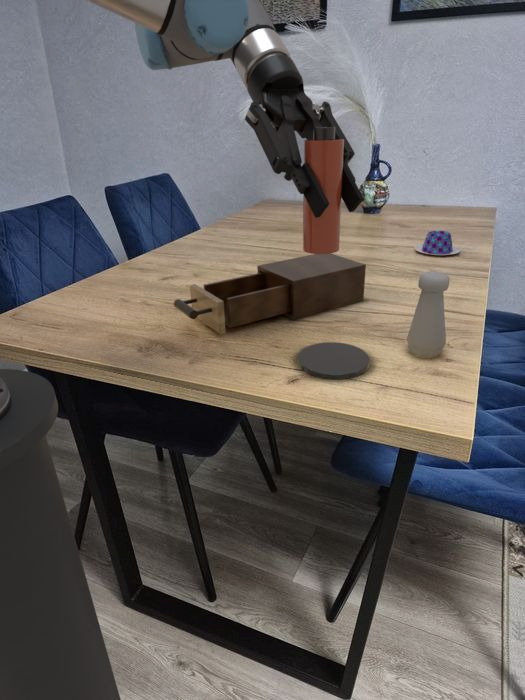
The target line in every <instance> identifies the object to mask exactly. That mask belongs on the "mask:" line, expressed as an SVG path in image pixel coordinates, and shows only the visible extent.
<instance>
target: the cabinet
mask: <svg viewBox="0 0 525 700" xmlns="http://www.w3.org/2000/svg"><path fill="white" fill-rule="evenodd" d="M256 268H257V273H261V272H264V273H267V274H269V275H271V276H274V277H276V278H278V279H280V280H283V281H285V282H287V283H289V284H291V312H288V313H284V314H283V316H286V317H287V318H289V319H290V320H293V321H295V320H299V319H302V318H305V317H310V316H313V315H317V314H320V313H324V312H327V311H331V310H335V309H338V308H343V307H345V306H349V305H352V304H356V303H360V302H364V297H365V284H366V283H365V282H366V270H367V264H365V263H363V262H359V261H357V260H353V259H351V258H350V259H349V258H347V257H343V256H340V255H337V254H335V253H331V254H309V255H303V256H298V257H294V258H289V259H284V260H279V261H274V262H269V263H264V264H258V265H257V267H256Z"/></svg>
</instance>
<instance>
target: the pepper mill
mask: <svg viewBox="0 0 525 700" xmlns="http://www.w3.org/2000/svg"><path fill="white" fill-rule="evenodd" d="M343 152H344V139H335V127H314V128H313V139H311V140H307V139H304V140H303V164H304V163H309V165H310V167H311V169H312V171H313V173H314V175H315V177H316V179H317V181H318V182H319V184H320V186H321V188H322V190H323V192H324V194H325V196H326V198H327V200H328V201H329V203H330V204H329V205H328V207H327V208H326V209H325V211H324V212H323V213H322V215H321V216H320V217H317V218H315V216H314V214H313V212H312V210H311V208H310V206H309V204H308V202H307V200H306V198H305V196H304V194H302V195H303V199H302V201H303V203H302V210H303V211H302V251H303V252H304V253H308V254H310V255H313V254H335V253H337V252H339V251H340V237H341V219H342V218H341V215H342V197H341V196H342V174H343Z"/></svg>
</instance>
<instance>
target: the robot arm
mask: <svg viewBox="0 0 525 700" xmlns="http://www.w3.org/2000/svg"><path fill="white" fill-rule="evenodd" d="M85 1H86V2H89V3H91V4H92V5H95V6H97V7H99V8H102V9H103V10H106V11H108V12H109V13H112V14H115V15H117V16H118V17H121V18H123V19H125V20H128V21H129V22H132V23H134V30H135V37H136V41H137V45H138V49H139V53H140V55H141V57H142V60H143V63H144V64H145V65H146V66H147V68H148V69H150V70H152V71H159V70H173V69H174V68H175V69H176V68H181V67H186V66H194V65H198V64H204V63H208V62H213V61H214V62H218V61H222V60H227V59H230V60H231V63H232V64H233V66H234V68H235V69H236V71H237V73H238V75H239V77H240V79H241V81H242V83H243V85H244V87H245V88H246V90H247V93H248V95H249V97H250V99H251V101H252V102H250V104H249V107H248V110H247V112H246V115H245V117H244V120H245V122H246V123H247V124H248V125H249V127H250V128H251V129H252V130H253V131H254V133H255V136H256V137H257V139H258V142H259V144H260V146H261V148H262V150H263V152H264V154H265V157H266V158H267V160H268V163H269V165H270V167H271V169H272V171H273V173H274V174H276V175H281V174H282V173H284V176H283V179H285V181H288V182H291V181H292V182H293V184H294V185H295V187H296V190H297V192H298V193H299V194H300V195H303V194H304V196H305V198H306V200H307V202H308V204H309V206H310V208H311V210H312V212H313V214H314V216H315V218H317V217H320V216H321V215H322V213H323V212H324V211H325V209H326V208H327V207H328V205H329V204H330V203H329V201H328V200H327V198H326V196H325V194H324V192H323V190H322V188H321V186H320V184H319V182H318V181H317V179H316V177H315V175H314V173H313V171H312V169H311V167H310V165H309V163H304V162H303V160H302V157H301V152H300V149H299V144H298V140H297V135H296V133H297V134H298V135H299V136H300V138H301V139H305V140H311V139H313V128H314V127H335V139H344V152H343V174H342V196H341V200H342V201H343V203H344V205H345V207H346V209H347V211H348V212H349V213H353V212H355V211H356V210H357V208H358V207H360V205H361V204H362V202H363V201H364V200H365V197H364V195H363V194H362V192H361V191H360V189H359V187H358V185H357V183H356V182H357V181H356V177H355V175H354V174H353V172H352V170H351V168H350V166H349V163H350V162H351V161H352V159H353V158H354V156H355V154H356V153H355V150H354V148H352V145H351V144H350V142H349V141H348V139H347V137H346V135H345V134H344V132H343V130H342V128H341V126H340V125H339V123H338V122H337V120H336V118H335V116H334V115H333V111H332V106H331V104H330V103H329V102H328V101H323V102H322V103H321V105H319V104H315V103H314V102H313V100H312V99H311V98H310V97H309V96H308V95H307V94H306V92H305V87H304V79H303V76H302V75H301V73H300V71H299V69H298V67H297V66H296V65H297V64H296V63H295V62H294V60H293V59H292V57H291V54H290V51H289V50H288V49H287V47H286V45H285V44H284V41H283V40H282V38H281V36H280V35H279V33H278V32H277V30H276V27H275V26H274V24H273V22H272V20H271V18H270V16H269V14H268V13H267V11H266V9H265V5H264V4H263V1H262V0H85ZM302 162H303V164H302ZM301 164H302V165H301ZM11 403H12V400H11V396H10V393H9V390H8V388H7V386H6V384H5V383H4V381H3V380H2V379H1V378H0V420H1V419H2V418H3V417H4V416H5V415H6V413H7V412H8V411H9V409H10V407H11Z"/></svg>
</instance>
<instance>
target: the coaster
mask: <svg viewBox="0 0 525 700" xmlns="http://www.w3.org/2000/svg"><path fill="white" fill-rule="evenodd" d="M296 359H297V365H298V367H299V368H300V369H301V370H302V371H303V372H304V373H306V374H308V375H310V376H313V377H316V378H320V379H326V380H346V379H352V378H355V377H358V376H361V375H363V374H364V373H365V372H367V370H368V369H369V367H370V365H371V364H370V362H371V361H370V360H371V359H370V356H369V355H368V353H367V352H366V351H365V350H363V349H362V348H360V347H358V346H355V345H352V344H349V343H345V342H343V343H342V342H334V341H333V342H332V341H331V342H330V341H329V342H326V341H325V342H318V343H314V344H310V345H307V346H305V347H304V348H302V349H301V350H300V351H299V352H298V354H297V358H296Z"/></svg>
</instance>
